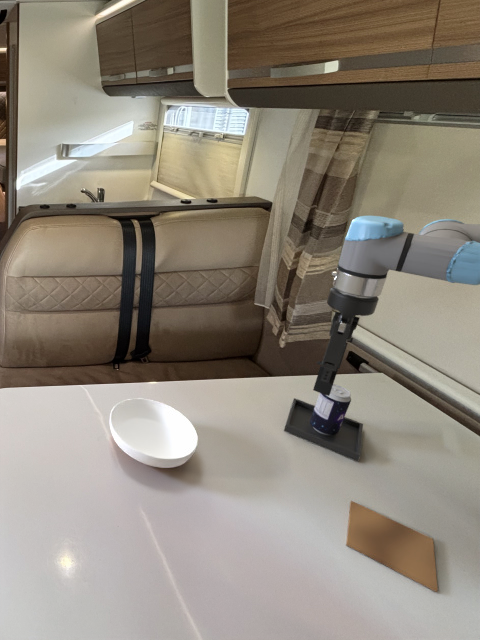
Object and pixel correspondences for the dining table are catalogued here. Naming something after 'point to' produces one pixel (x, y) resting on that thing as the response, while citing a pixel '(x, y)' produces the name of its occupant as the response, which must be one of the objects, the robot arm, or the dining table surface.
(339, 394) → the beverage can
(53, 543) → the dining table surface
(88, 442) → the dining table surface
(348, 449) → the tray
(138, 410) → the bowl
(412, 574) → the trivet
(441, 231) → the robot arm
